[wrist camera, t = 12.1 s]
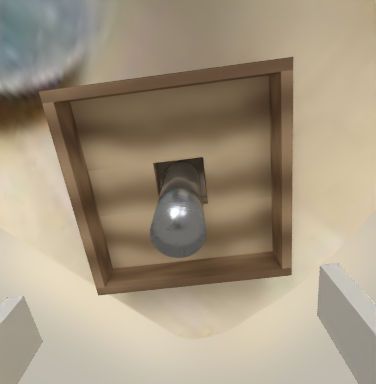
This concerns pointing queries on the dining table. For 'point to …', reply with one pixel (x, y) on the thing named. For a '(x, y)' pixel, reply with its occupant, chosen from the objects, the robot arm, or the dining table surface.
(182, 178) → the peg
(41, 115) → the dining table surface
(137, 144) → the box
